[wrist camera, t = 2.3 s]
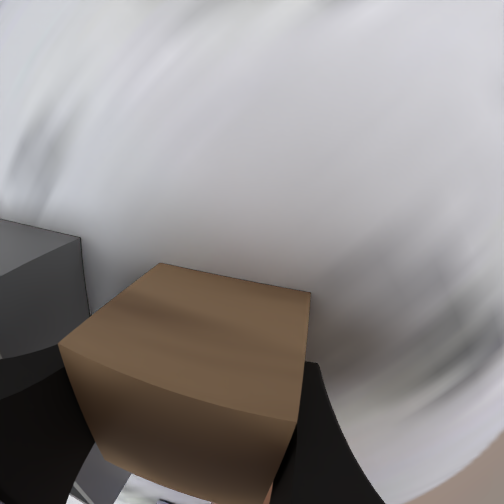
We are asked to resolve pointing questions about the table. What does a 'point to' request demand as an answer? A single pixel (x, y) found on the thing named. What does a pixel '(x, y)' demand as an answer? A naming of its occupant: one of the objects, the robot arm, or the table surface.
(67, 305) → the tote
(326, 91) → the table surface
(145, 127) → the table surface
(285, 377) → the walnut cube
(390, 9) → the table surface
